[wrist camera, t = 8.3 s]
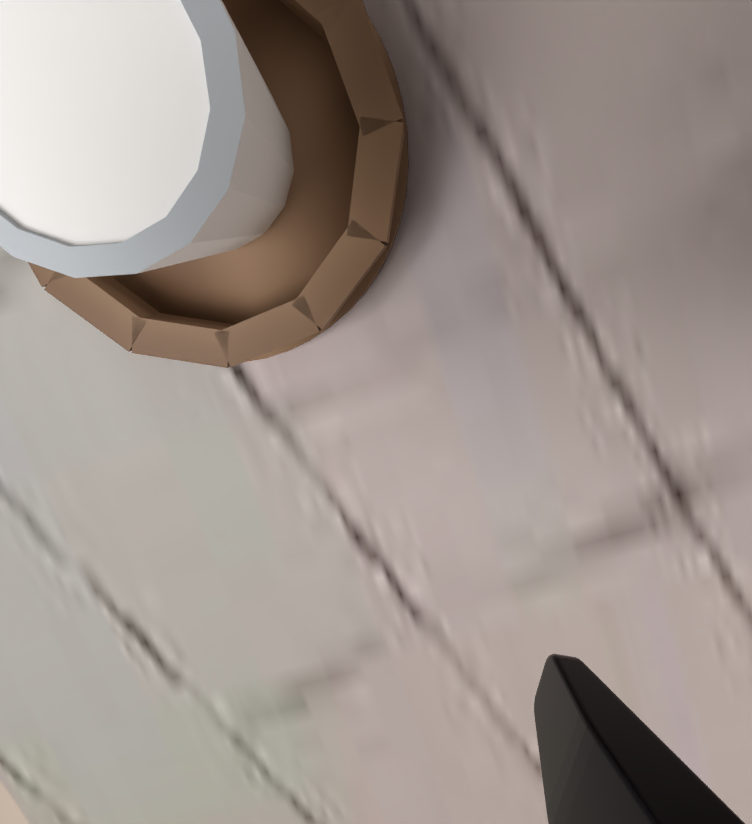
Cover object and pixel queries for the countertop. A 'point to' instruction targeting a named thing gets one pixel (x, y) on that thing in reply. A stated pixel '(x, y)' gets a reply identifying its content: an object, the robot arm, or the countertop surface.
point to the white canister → (133, 135)
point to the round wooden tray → (304, 210)
